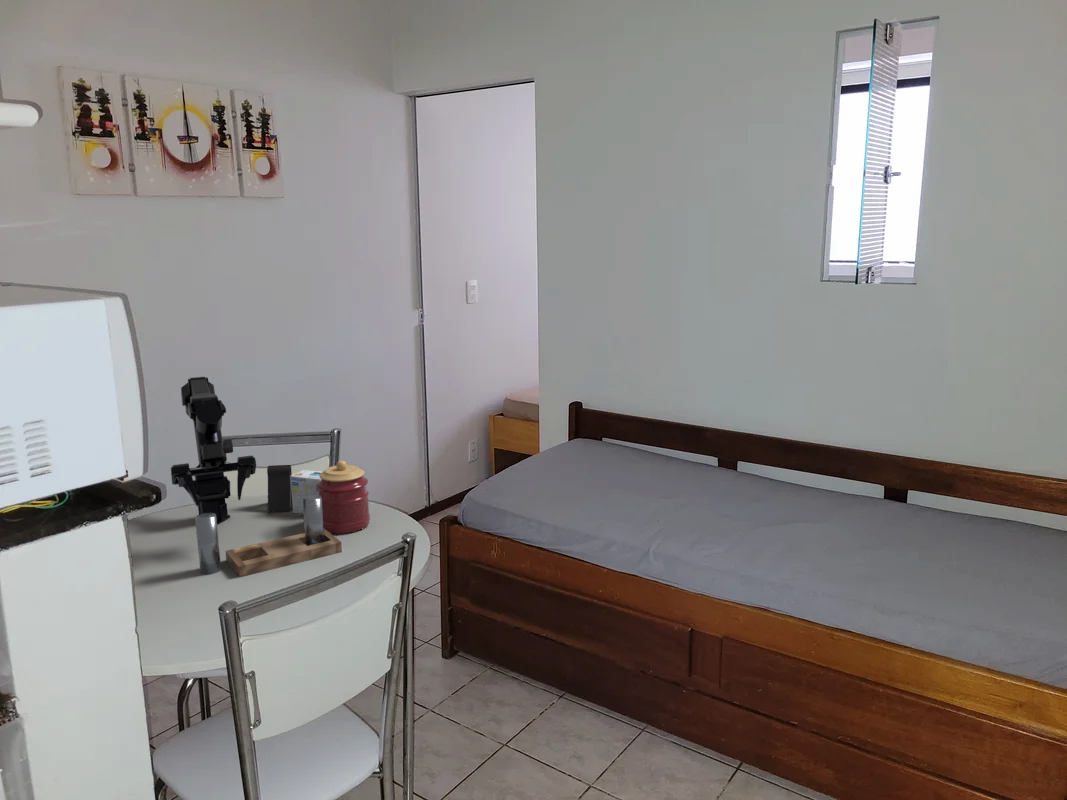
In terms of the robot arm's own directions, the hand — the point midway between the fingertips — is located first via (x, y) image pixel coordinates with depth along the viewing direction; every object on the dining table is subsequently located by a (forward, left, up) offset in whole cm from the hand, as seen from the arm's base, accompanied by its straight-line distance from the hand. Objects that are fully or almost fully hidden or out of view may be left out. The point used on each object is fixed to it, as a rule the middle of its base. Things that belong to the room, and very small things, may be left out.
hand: (218, 502), depth 186 cm
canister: (+19, +25, -13) cm, 34 cm away
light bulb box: (+6, +33, -13) cm, 36 cm away
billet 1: (+2, -8, -13) cm, 16 cm away
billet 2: (+19, +9, -13) cm, 25 cm away
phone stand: (-5, +34, -13) cm, 37 cm away
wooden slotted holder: (+15, +3, -13) cm, 20 cm away
